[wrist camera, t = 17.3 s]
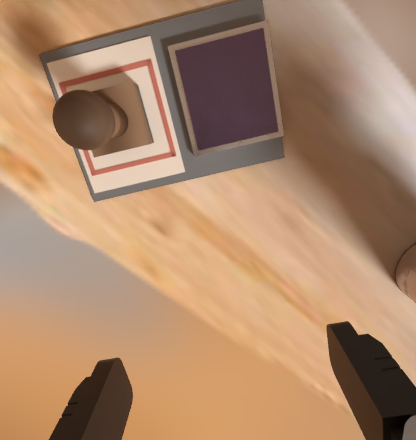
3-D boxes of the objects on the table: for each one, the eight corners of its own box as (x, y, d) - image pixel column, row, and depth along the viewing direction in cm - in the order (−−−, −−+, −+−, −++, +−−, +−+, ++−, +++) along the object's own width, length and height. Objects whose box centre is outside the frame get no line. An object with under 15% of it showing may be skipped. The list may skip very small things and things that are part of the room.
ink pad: (265, 23, 29) (268, 18, 28) (281, 135, 32) (284, 136, 31) (168, 49, 30) (167, 45, 28) (194, 155, 33) (194, 157, 32)
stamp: (137, 84, 30) (99, 63, 19) (154, 142, 32) (127, 153, 21) (83, 98, 31) (13, 85, 19) (102, 154, 33) (49, 172, 21)
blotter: (260, -4, 29) (261, -7, 28) (283, 157, 34) (285, 157, 33) (41, 54, 30) (37, 53, 29) (95, 201, 35) (93, 202, 34)
